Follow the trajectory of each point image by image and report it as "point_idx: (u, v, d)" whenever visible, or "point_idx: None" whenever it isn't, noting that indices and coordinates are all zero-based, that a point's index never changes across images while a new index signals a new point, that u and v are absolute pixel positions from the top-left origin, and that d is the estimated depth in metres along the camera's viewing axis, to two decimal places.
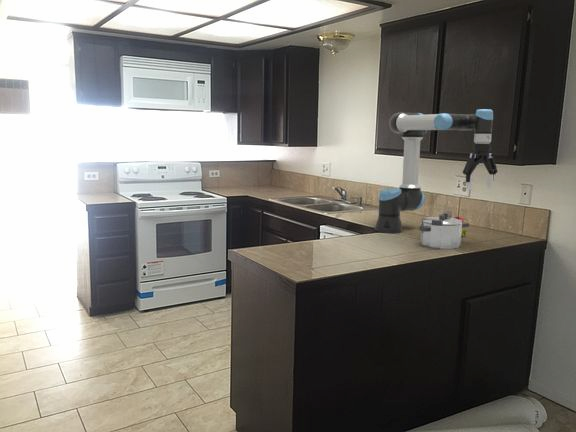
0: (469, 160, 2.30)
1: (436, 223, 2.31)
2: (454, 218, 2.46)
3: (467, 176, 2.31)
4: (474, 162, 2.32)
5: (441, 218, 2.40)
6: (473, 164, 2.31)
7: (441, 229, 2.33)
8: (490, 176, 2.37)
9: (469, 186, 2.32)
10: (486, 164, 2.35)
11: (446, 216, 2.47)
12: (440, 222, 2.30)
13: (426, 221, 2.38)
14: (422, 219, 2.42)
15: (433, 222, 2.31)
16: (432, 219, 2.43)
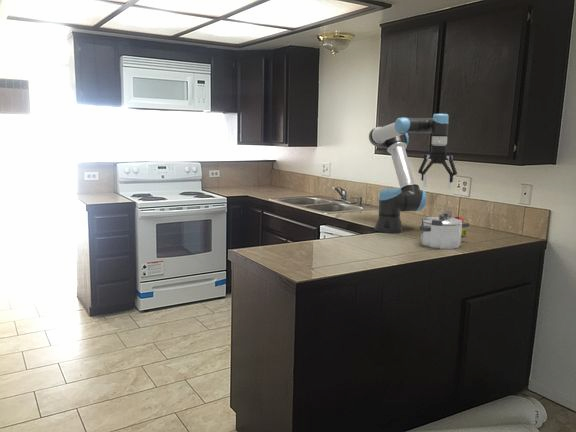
0: None
1: (436, 223, 2.31)
2: (454, 218, 2.46)
3: (422, 175, 2.57)
4: None
5: (441, 218, 2.40)
6: None
7: (441, 229, 2.33)
8: None
9: None
10: None
11: (446, 216, 2.47)
12: (440, 222, 2.30)
13: (426, 221, 2.38)
14: (422, 219, 2.42)
15: (433, 222, 2.31)
16: (432, 219, 2.43)
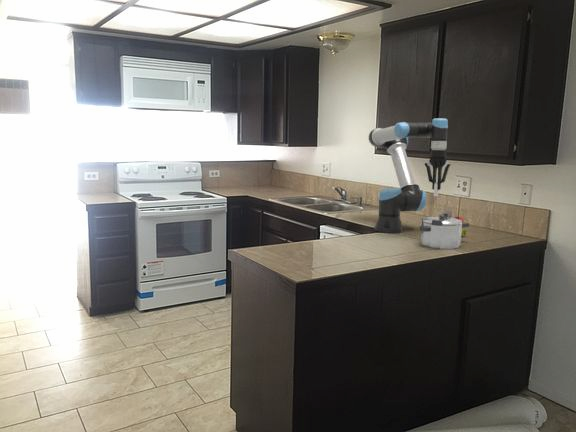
0: None
1: (436, 223, 2.31)
2: (454, 218, 2.46)
3: None
4: None
5: (441, 218, 2.40)
6: None
7: (441, 229, 2.33)
8: None
9: None
10: None
11: (446, 216, 2.47)
12: (440, 222, 2.30)
13: (426, 221, 2.38)
14: (422, 219, 2.42)
15: (433, 222, 2.31)
16: (432, 219, 2.43)
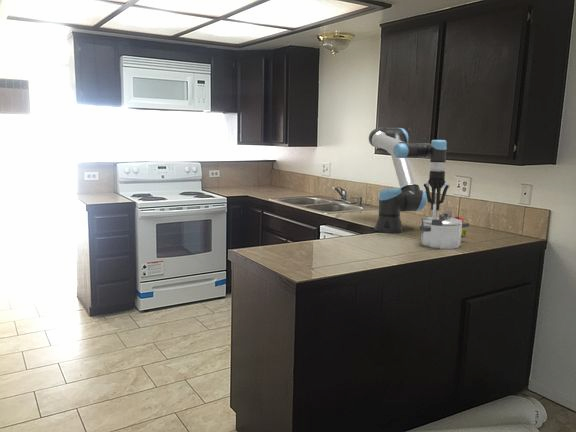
0: None
1: (436, 223, 2.31)
2: (454, 218, 2.46)
3: None
4: None
5: (441, 218, 2.40)
6: None
7: (441, 229, 2.33)
8: None
9: None
10: None
11: (446, 216, 2.47)
12: (440, 222, 2.30)
13: (426, 221, 2.38)
14: (422, 219, 2.42)
15: (433, 222, 2.31)
16: (432, 219, 2.43)
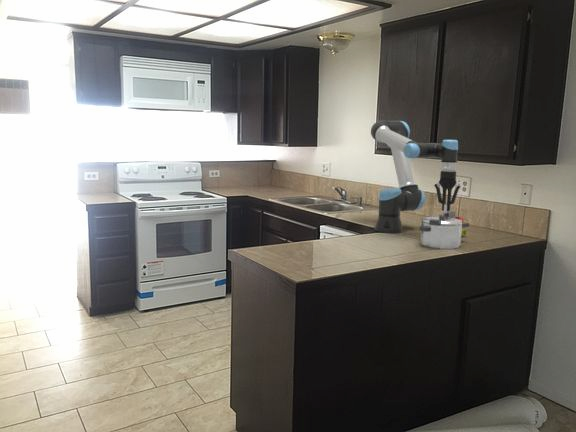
0: None
1: (434, 223, 2.31)
2: None
3: None
4: None
5: (441, 218, 2.41)
6: None
7: (441, 229, 2.33)
8: None
9: None
10: None
11: (447, 216, 2.47)
12: (437, 222, 2.30)
13: (425, 221, 2.39)
14: (422, 219, 2.43)
15: (431, 222, 2.32)
16: None
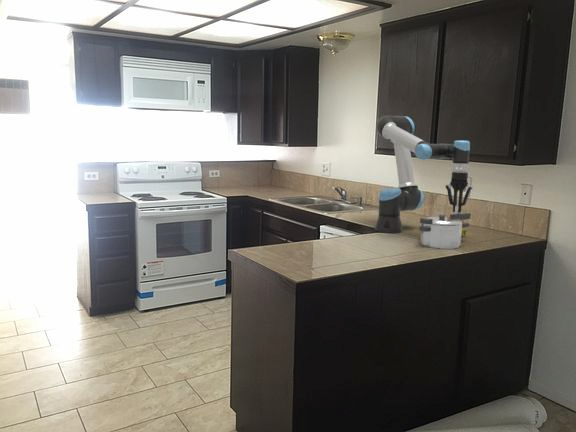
0: None
1: (423, 221, 2.35)
2: (460, 220, 2.42)
3: None
4: None
5: (440, 218, 2.41)
6: None
7: (441, 229, 2.33)
8: None
9: None
10: None
11: (453, 217, 2.44)
12: (426, 220, 2.34)
13: None
14: None
15: (421, 220, 2.36)
16: (433, 218, 2.45)
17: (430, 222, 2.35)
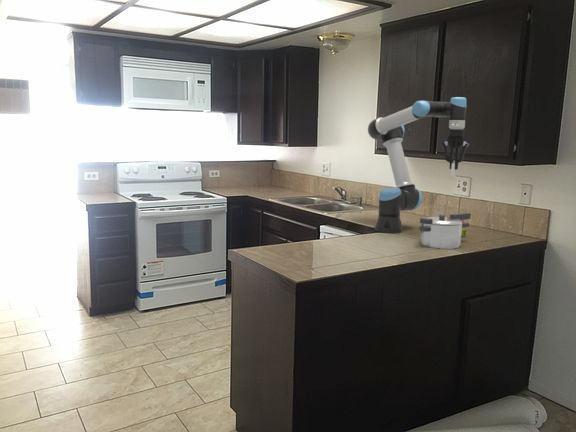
0: None
1: (423, 221, 2.35)
2: (460, 220, 2.42)
3: (450, 164, 2.54)
4: None
5: (440, 218, 2.41)
6: None
7: (441, 229, 2.33)
8: None
9: None
10: None
11: (453, 217, 2.44)
12: (426, 220, 2.34)
13: None
14: None
15: (421, 220, 2.36)
16: (433, 218, 2.45)
17: (430, 222, 2.35)
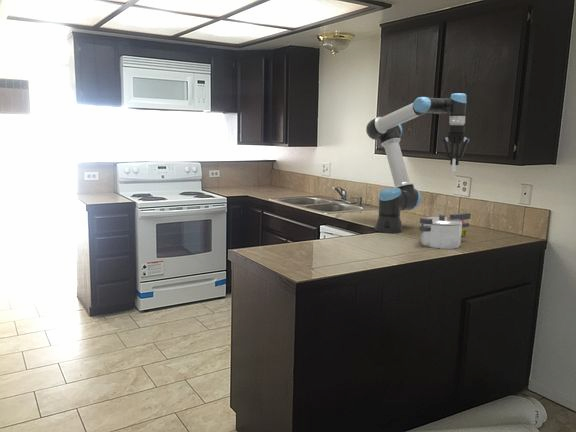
0: None
1: (423, 221, 2.35)
2: (460, 220, 2.42)
3: None
4: None
5: (440, 218, 2.41)
6: None
7: (441, 229, 2.33)
8: None
9: None
10: None
11: (453, 217, 2.44)
12: (426, 220, 2.34)
13: None
14: None
15: (421, 220, 2.36)
16: (433, 218, 2.45)
17: (430, 222, 2.35)
